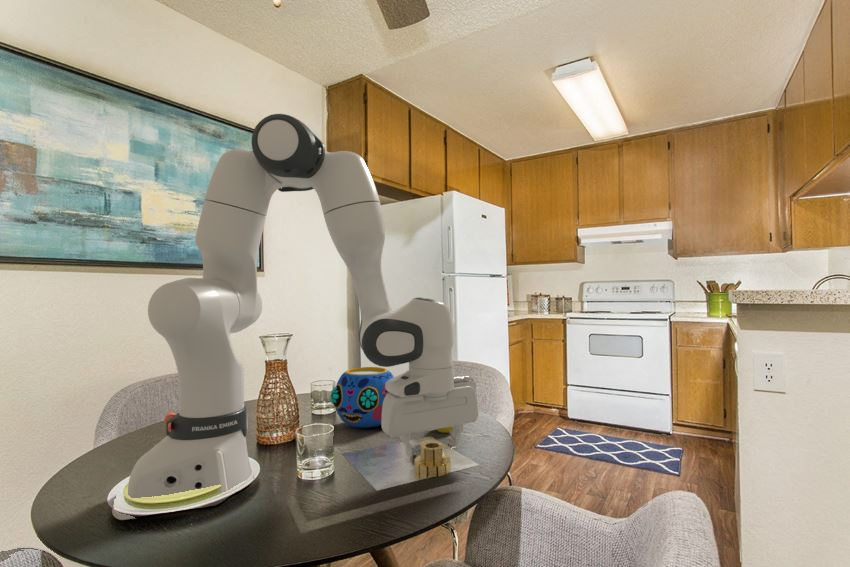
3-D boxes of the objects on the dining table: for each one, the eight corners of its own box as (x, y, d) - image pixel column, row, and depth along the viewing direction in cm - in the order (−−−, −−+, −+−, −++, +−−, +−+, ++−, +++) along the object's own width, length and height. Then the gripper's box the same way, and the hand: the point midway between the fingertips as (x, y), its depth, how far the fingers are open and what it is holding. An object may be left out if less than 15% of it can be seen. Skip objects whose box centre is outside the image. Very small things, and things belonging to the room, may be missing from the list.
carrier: (376, 497, 76) (376, 470, 76) (341, 459, 93) (341, 437, 93) (479, 470, 86) (479, 447, 86) (430, 441, 104) (430, 421, 104)
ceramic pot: (320, 432, 111) (319, 374, 111) (356, 414, 128) (356, 363, 128) (379, 440, 104) (379, 378, 105) (410, 420, 121) (409, 366, 121)
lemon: (455, 431, 110) (455, 400, 110) (455, 439, 105) (454, 406, 105) (434, 431, 111) (433, 400, 111) (432, 438, 105) (431, 406, 105)
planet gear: (425, 479, 80) (425, 454, 80) (408, 466, 86) (408, 443, 86) (457, 471, 83) (457, 447, 83) (439, 459, 89) (438, 437, 89)
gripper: (466, 372, 92) (467, 437, 92) (377, 383, 83) (378, 455, 82) (484, 377, 87) (485, 446, 87) (391, 389, 77) (392, 467, 77)
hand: (432, 451), depth 84 cm, fingers open, 8 cm apart
